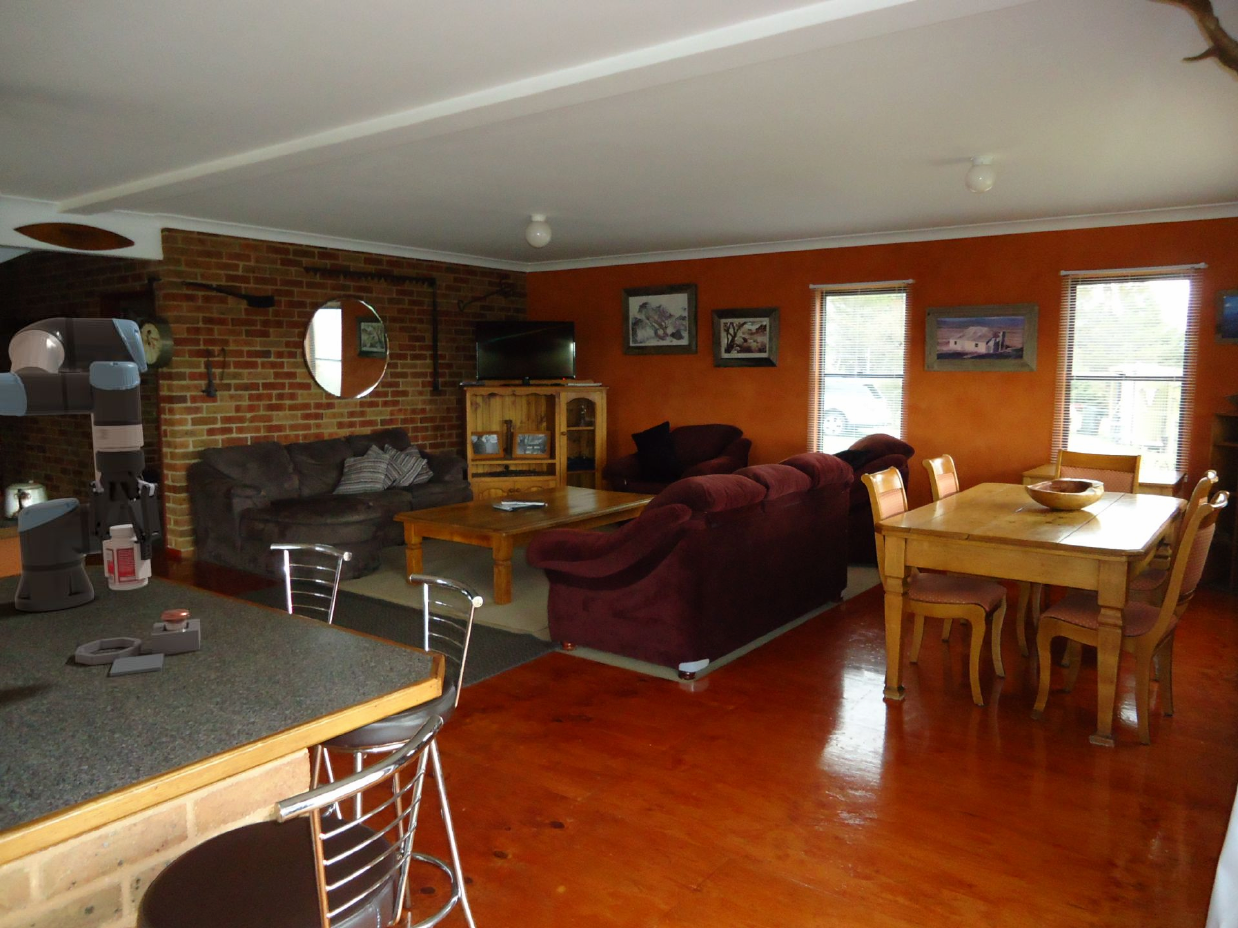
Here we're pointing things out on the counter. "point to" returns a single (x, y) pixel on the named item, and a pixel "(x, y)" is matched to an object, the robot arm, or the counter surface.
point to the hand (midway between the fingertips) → (128, 576)
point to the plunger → (175, 619)
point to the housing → (160, 644)
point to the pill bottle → (122, 559)
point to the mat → (137, 664)
